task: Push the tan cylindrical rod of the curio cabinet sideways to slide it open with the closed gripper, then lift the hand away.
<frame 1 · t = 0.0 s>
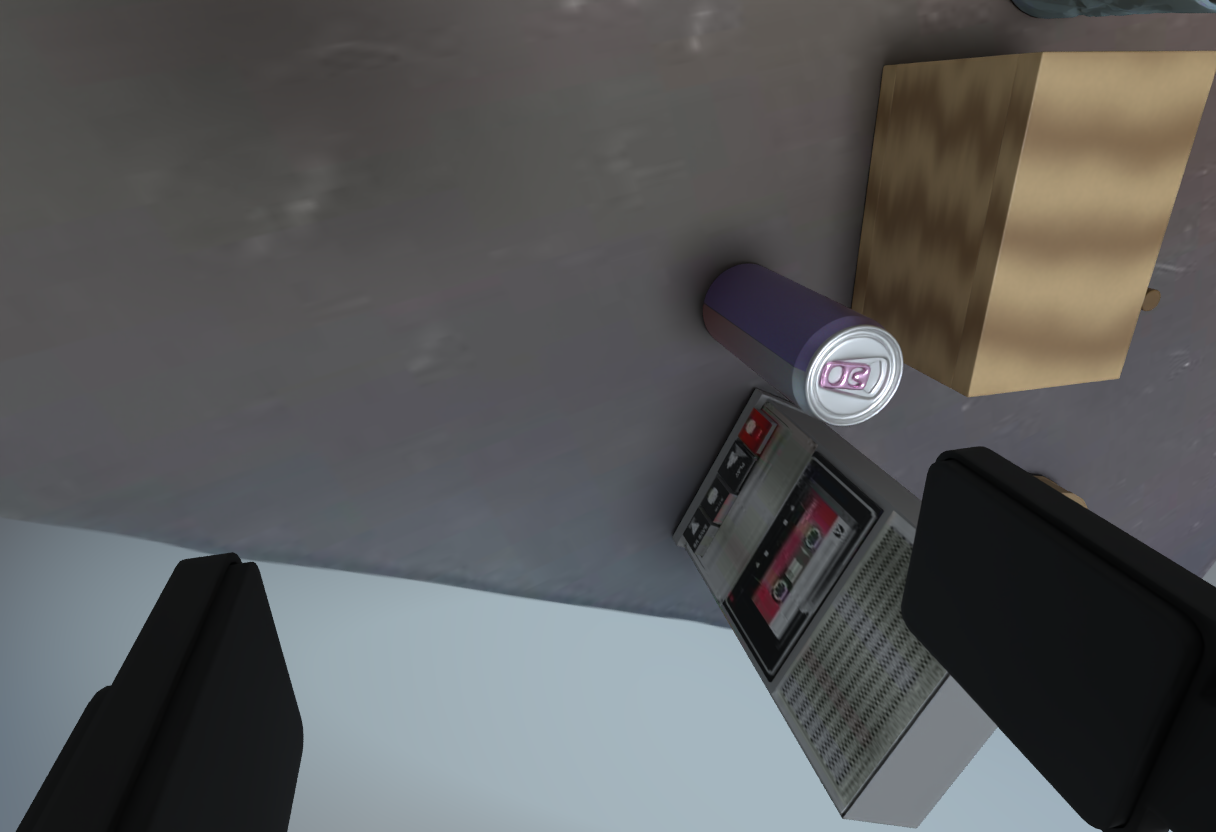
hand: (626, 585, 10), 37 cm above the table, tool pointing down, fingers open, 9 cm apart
curio cabinet: (920, 206, 49), on the table
tan cylindrical rod: (1077, 273, 47), point 6 cm above the table, slide at 0.0 cm
beverage can: (737, 302, 49), on the table
cassette tape recorder: (738, 472, 55), on the table
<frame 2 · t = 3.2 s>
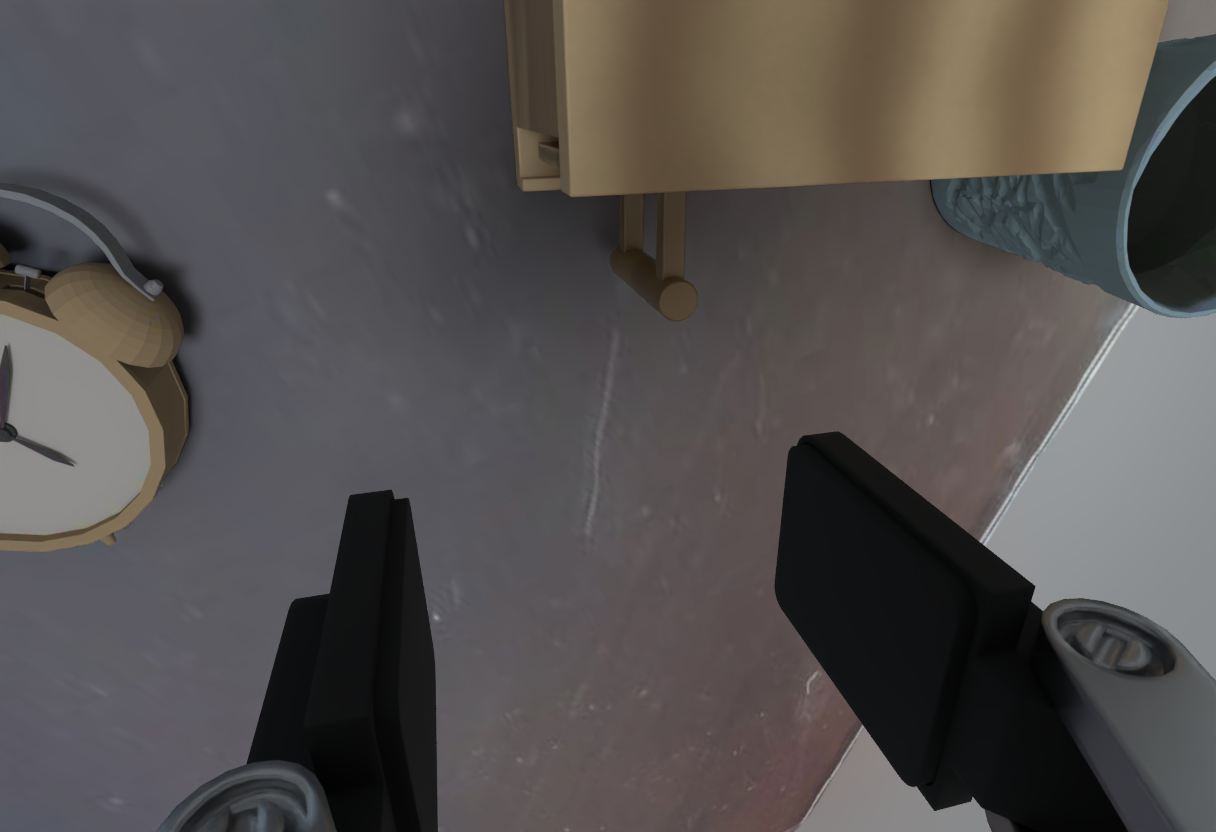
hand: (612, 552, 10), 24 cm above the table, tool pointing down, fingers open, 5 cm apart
tan cylindrical rod: (671, 221, 26), point 6 cm above the table, slide at 0.0 cm
alarm clock: (50, 359, 29), on the table
blue-grey pot: (998, 159, 35), on the table
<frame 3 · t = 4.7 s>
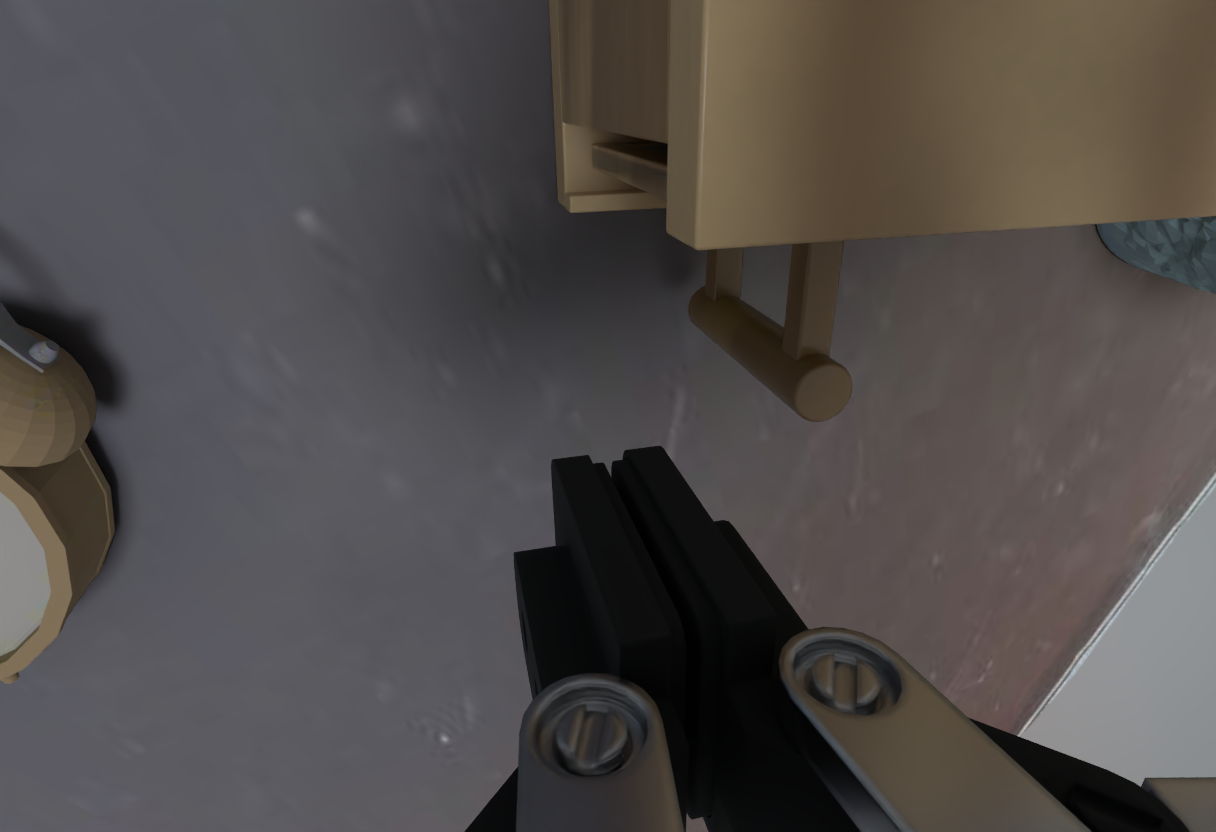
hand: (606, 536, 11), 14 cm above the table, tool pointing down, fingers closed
tan cylindrical rod: (790, 260, 18), point 6 cm above the table, slide at 0.0 cm
blue-grey pot: (1178, 165, 27), on the table
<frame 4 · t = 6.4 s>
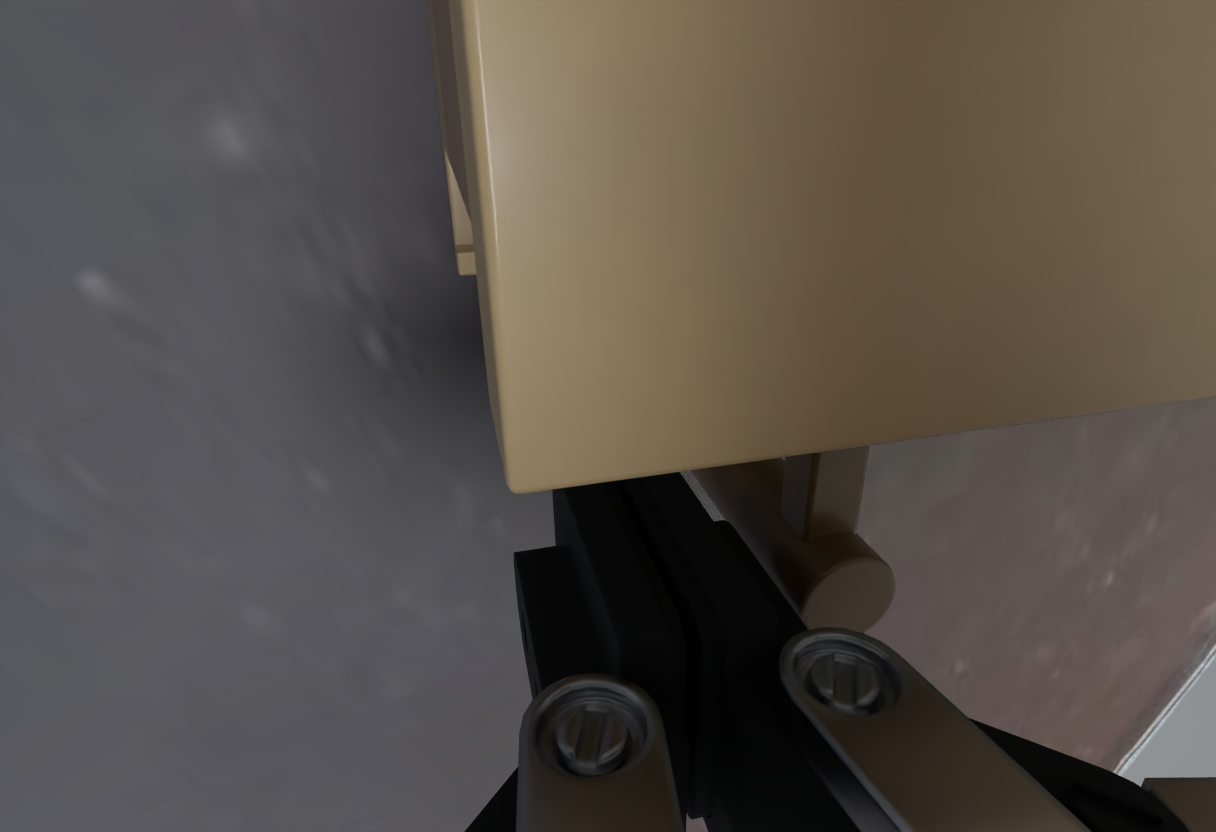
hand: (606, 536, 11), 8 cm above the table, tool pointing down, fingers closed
tan cylindrical rod: (791, 354, 12), point 6 cm above the table, slide at 0.4 cm, touching gripper
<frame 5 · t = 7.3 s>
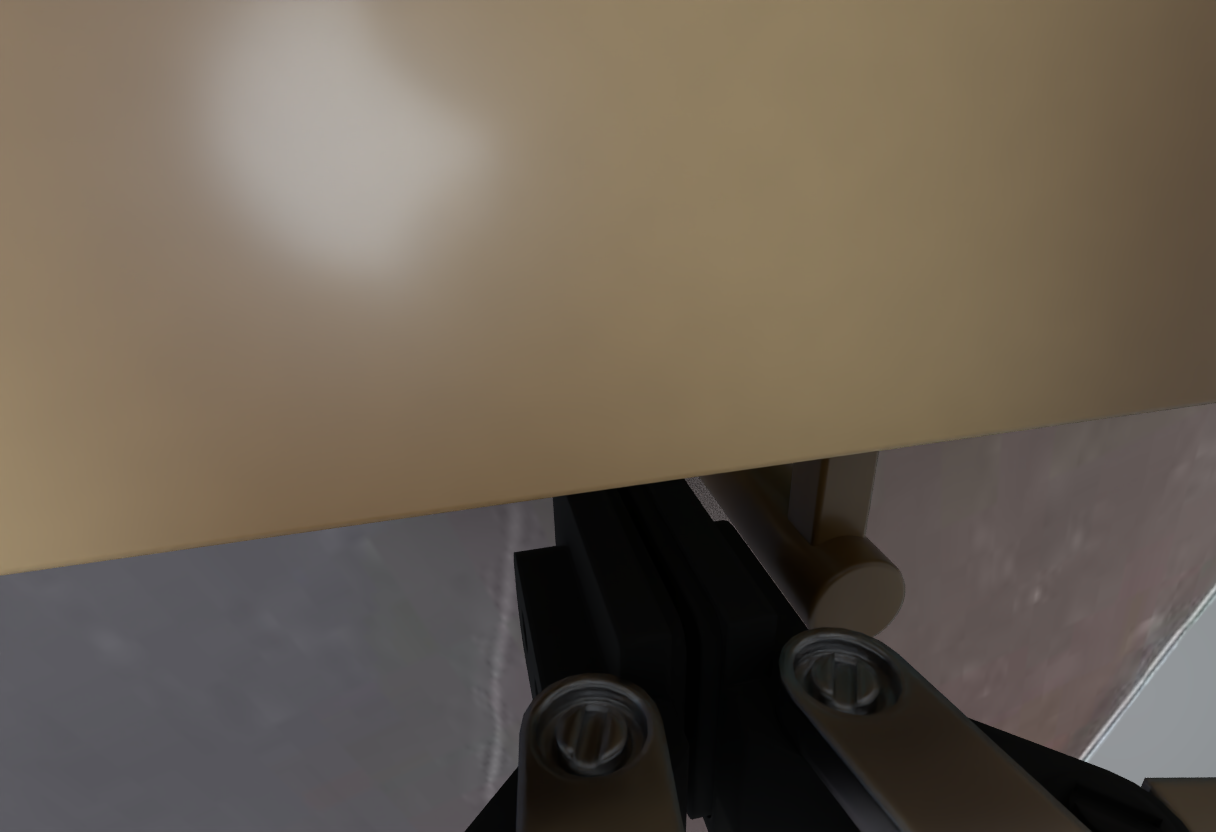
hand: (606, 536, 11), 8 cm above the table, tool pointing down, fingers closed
tan cylindrical rod: (797, 354, 12), point 7 cm above the table, slide at 4.0 cm, touching gripper
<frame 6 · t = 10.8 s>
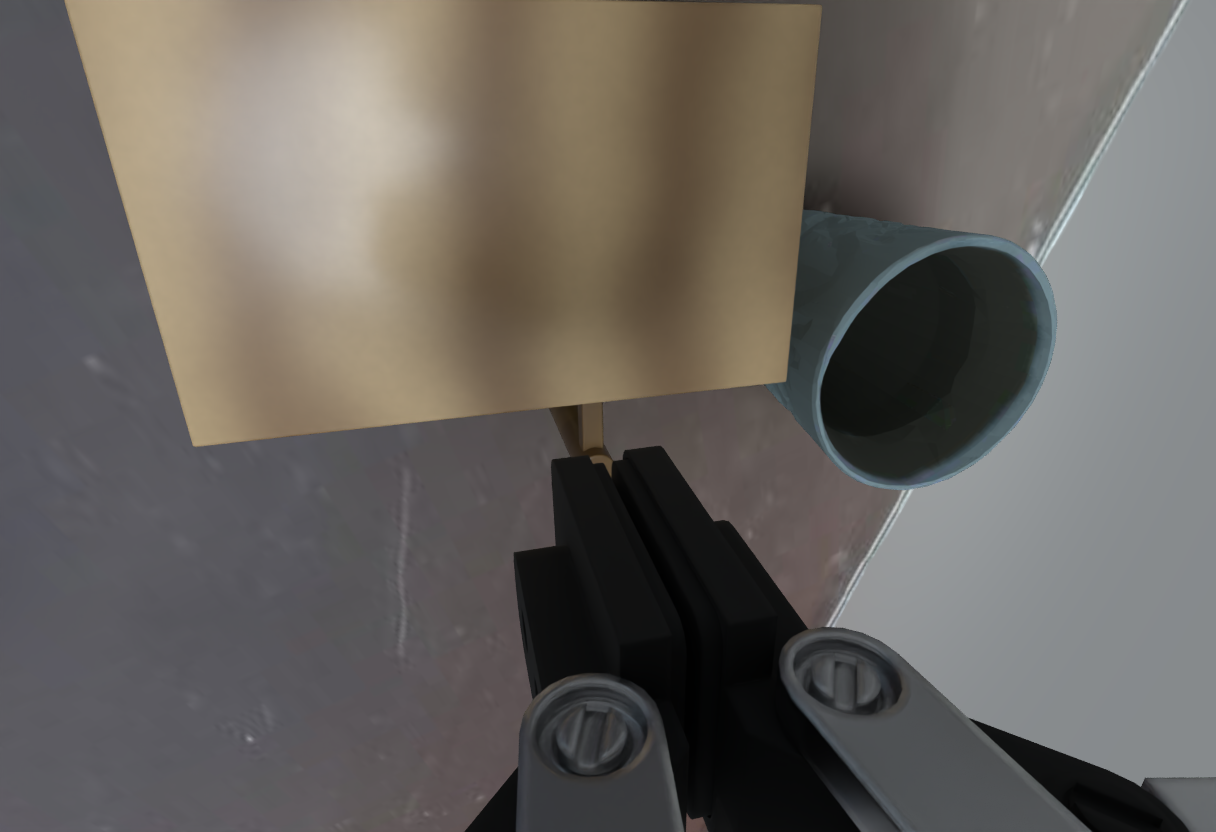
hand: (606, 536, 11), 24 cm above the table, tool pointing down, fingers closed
curio cabinet: (470, 163, 30), on the table
tan cylindrical rod: (598, 381, 28), point 6 cm above the table, slide at 8.0 cm
blue-grey pot: (786, 297, 36), on the table
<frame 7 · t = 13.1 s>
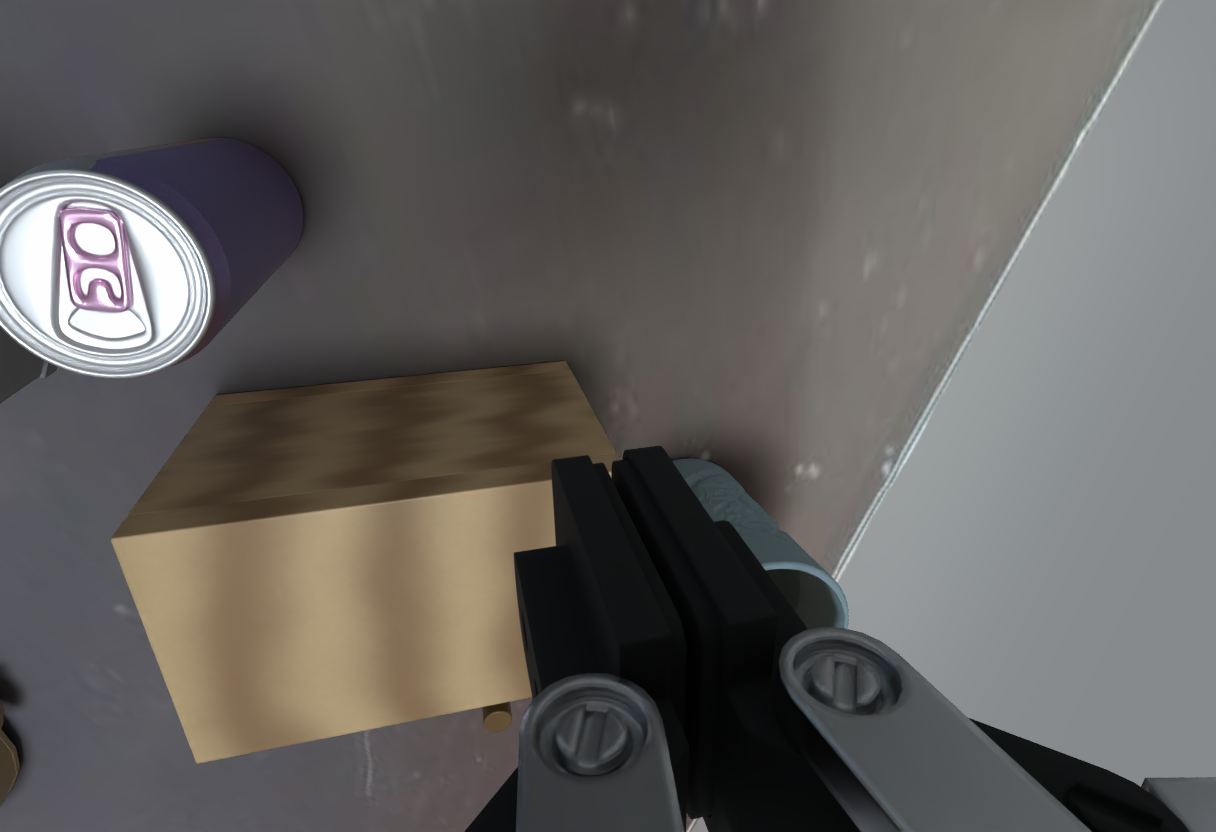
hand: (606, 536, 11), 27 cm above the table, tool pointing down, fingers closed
curio cabinet: (411, 451, 38), on the table
tan cylindrical rod: (506, 632, 37), point 7 cm above the table, slide at 8.0 cm
blue-grey pot: (677, 517, 45), on the table
beverage can: (236, 206, 32), on the table
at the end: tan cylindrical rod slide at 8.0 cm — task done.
